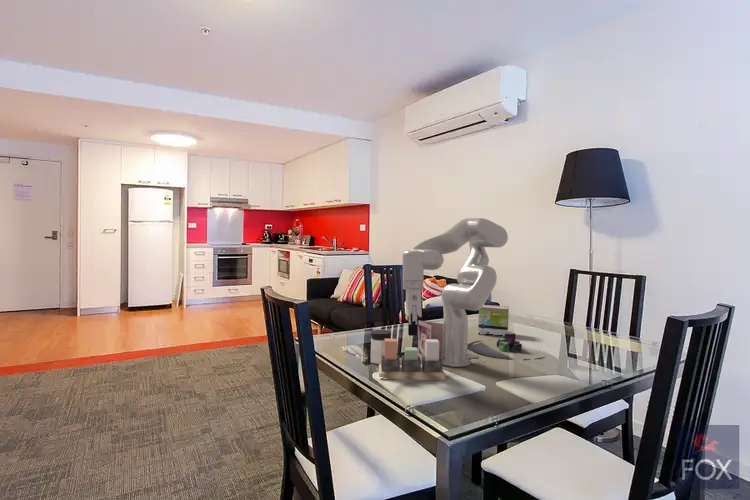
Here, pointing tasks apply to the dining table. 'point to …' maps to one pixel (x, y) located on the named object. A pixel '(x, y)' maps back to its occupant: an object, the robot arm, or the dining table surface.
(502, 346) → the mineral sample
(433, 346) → the grey button
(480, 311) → the tea box
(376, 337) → the jar
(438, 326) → the greeting card
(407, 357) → the pale green upright block
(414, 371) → the base
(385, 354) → the pink upright block
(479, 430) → the dining table surface
